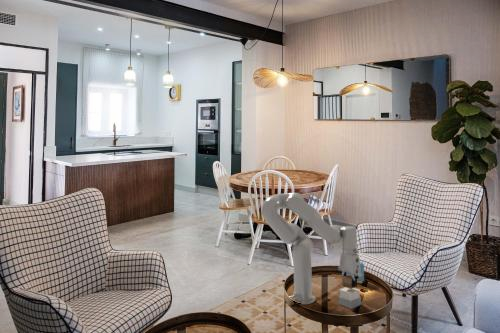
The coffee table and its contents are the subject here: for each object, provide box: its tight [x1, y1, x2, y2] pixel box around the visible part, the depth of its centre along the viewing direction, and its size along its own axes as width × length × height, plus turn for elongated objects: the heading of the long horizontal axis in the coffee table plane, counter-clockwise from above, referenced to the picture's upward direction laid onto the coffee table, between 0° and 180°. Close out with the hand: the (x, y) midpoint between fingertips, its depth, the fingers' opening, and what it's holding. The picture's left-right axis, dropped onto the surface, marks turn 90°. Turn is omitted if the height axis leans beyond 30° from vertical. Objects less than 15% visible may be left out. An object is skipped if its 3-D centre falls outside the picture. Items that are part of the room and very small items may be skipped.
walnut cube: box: [342, 275, 356, 289], centre depth 192 cm, size 5×5×5 cm
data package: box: [347, 261, 365, 282], centre depth 223 cm, size 12×4×12 cm, turn 75°
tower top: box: [339, 287, 361, 301], centre depth 193 cm, size 7×7×4 cm
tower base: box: [338, 296, 362, 310], centre depth 193 cm, size 8×8×4 cm
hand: (349, 285), depth 192 cm, fingers open, 5 cm apart
